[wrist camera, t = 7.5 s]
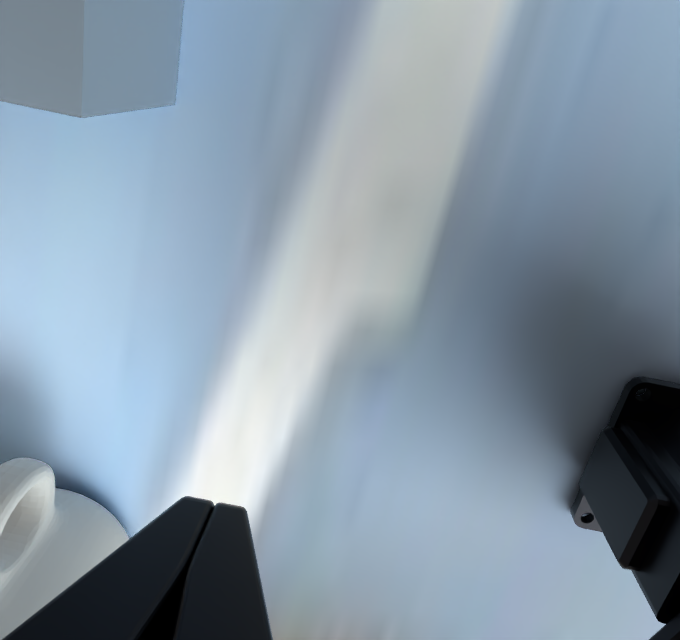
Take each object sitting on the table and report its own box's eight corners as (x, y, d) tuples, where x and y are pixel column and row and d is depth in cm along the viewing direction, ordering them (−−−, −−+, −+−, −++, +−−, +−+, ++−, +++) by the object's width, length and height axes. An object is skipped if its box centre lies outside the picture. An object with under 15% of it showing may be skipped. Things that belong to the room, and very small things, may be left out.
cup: (-31, 381, 23) (-229, 528, 15) (175, 424, 23) (79, 590, 15) (-24, 588, 27) (-177, 784, 19) (151, 622, 27) (66, 829, 19)
